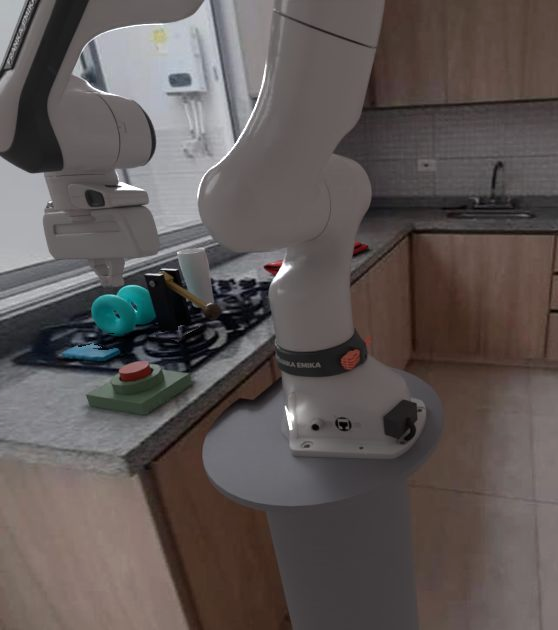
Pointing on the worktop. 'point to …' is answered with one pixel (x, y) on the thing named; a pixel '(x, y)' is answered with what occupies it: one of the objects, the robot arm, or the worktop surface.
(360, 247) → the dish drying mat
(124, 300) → the turquoise double disc spool
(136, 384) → the button box
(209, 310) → the lever
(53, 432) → the worktop surface
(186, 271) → the drinking glass
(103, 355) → the sponge
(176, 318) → the bracket
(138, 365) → the button
